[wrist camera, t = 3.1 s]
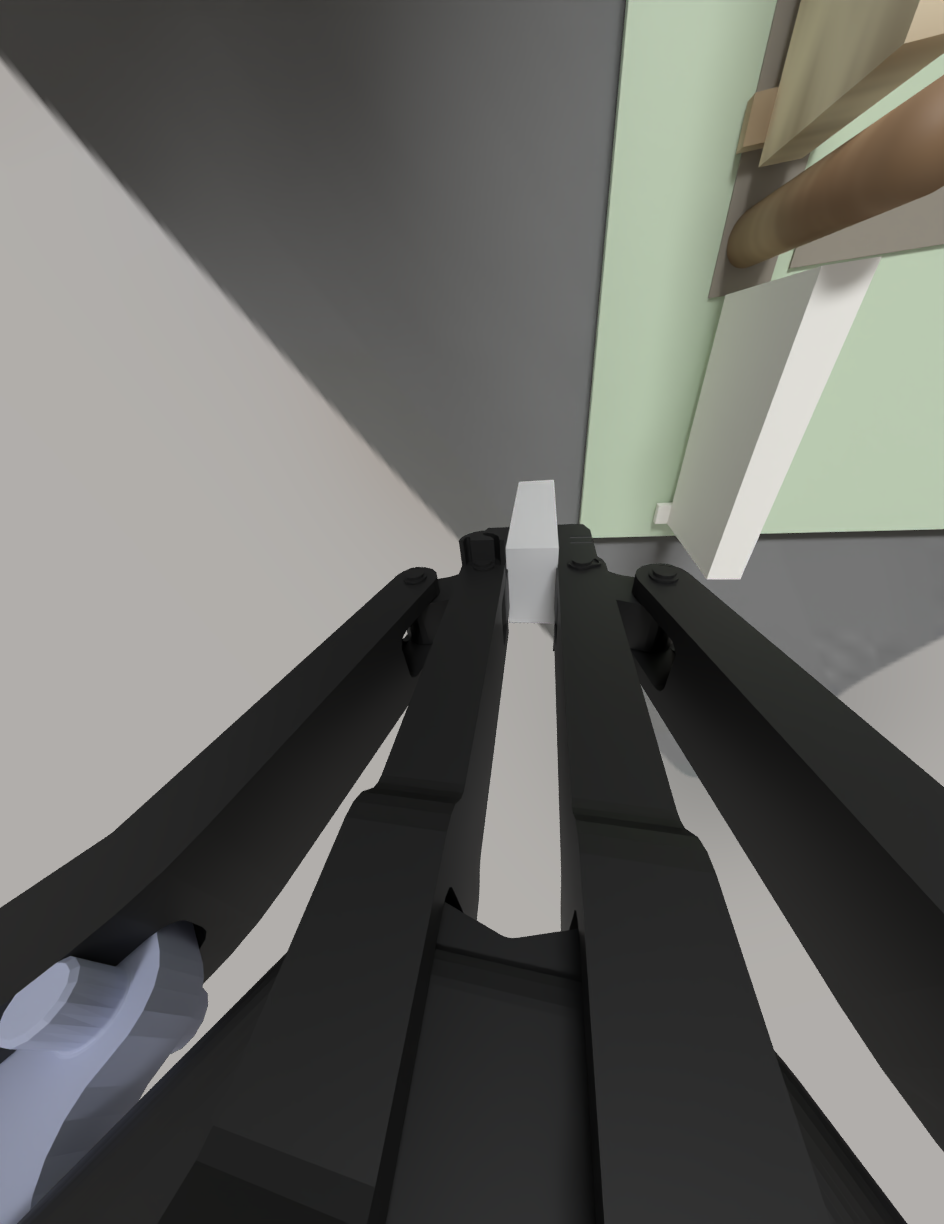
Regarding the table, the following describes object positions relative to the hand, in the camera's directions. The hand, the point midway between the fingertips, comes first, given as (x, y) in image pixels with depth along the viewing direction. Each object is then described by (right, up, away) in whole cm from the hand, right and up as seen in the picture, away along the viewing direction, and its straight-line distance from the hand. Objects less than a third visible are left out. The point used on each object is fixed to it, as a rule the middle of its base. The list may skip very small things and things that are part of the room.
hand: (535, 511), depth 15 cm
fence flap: (+8, +4, 0) cm, 9 cm away
